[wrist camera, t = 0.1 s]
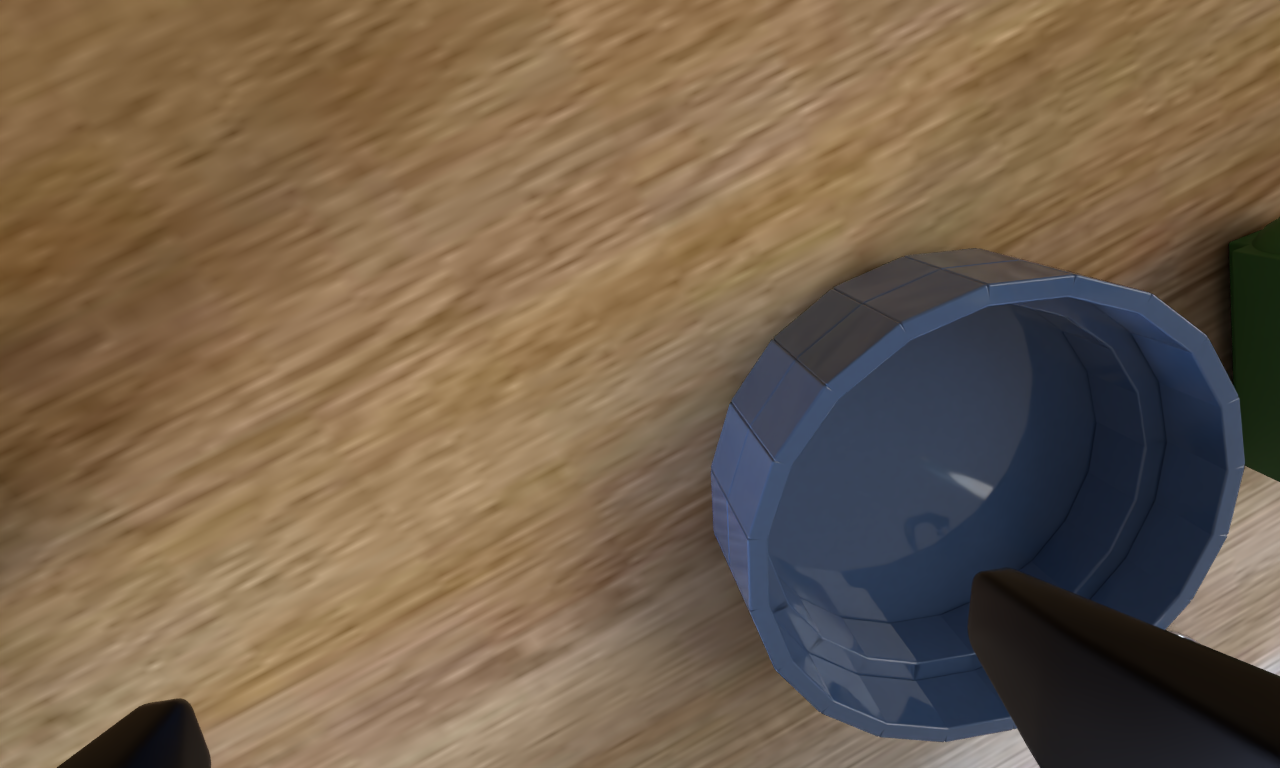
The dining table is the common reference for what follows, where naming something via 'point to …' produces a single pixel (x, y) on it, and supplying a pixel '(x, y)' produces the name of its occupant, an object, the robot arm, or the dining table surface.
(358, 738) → the dining table surface
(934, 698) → the bowl
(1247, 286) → the green domed grooved pillar
